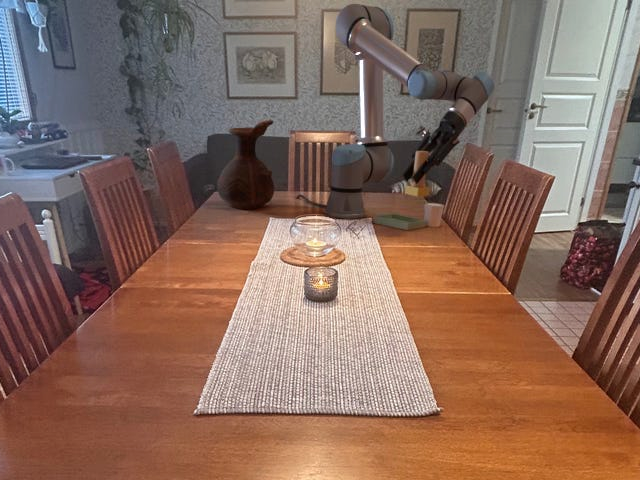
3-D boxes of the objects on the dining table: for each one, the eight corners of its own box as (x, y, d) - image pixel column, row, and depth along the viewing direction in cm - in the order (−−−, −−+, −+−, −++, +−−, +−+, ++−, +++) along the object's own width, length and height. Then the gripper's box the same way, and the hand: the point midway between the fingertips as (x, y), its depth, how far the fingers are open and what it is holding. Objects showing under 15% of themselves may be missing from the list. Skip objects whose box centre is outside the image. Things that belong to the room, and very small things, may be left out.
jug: (220, 211, 219) (217, 118, 203) (216, 201, 237) (212, 115, 221) (278, 211, 223) (279, 120, 207) (269, 201, 241) (270, 117, 225)
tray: (373, 222, 212) (374, 216, 211) (391, 219, 218) (392, 213, 217) (407, 230, 203) (408, 223, 202) (425, 227, 209) (426, 220, 208)
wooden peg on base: (404, 193, 192) (409, 150, 186) (416, 192, 195) (421, 150, 188) (417, 196, 188) (423, 152, 181) (428, 195, 190) (434, 152, 184)
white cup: (442, 227, 209) (446, 206, 206) (423, 226, 209) (426, 205, 205) (439, 223, 215) (442, 203, 211) (420, 223, 215) (423, 202, 211)
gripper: (480, 131, 183) (433, 192, 184) (441, 127, 195) (397, 184, 196) (472, 111, 178) (423, 174, 178) (432, 108, 189) (386, 166, 190)
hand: (409, 179), depth 187 cm, fingers closed on wooden peg on base, 4 cm apart
